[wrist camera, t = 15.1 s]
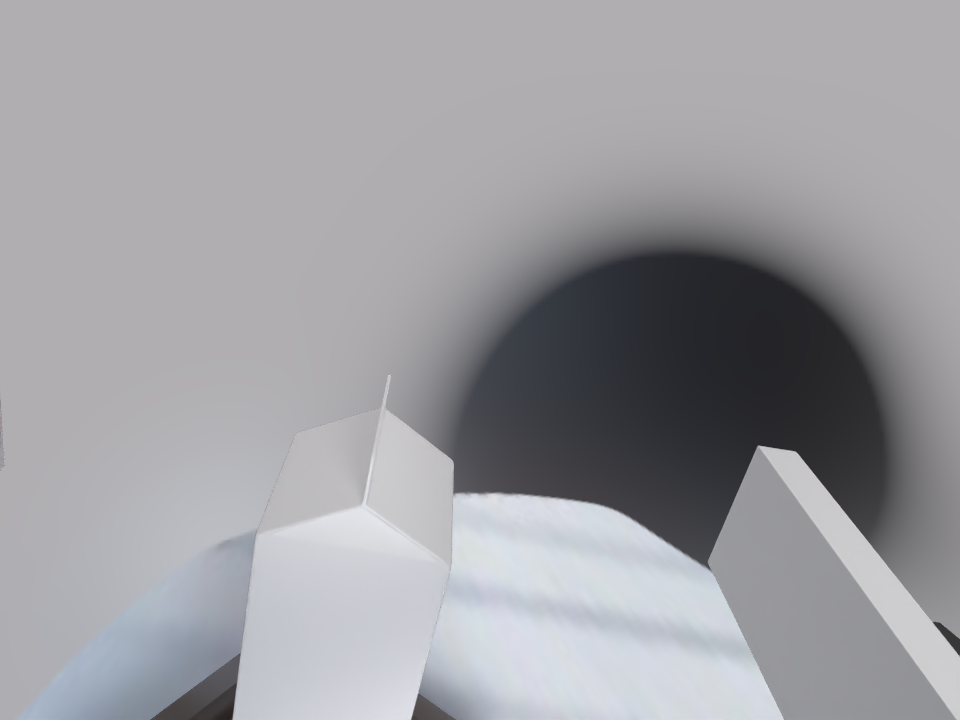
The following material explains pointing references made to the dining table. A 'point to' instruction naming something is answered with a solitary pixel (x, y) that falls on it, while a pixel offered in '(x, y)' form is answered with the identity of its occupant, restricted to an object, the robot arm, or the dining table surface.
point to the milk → (347, 574)
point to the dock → (210, 704)
